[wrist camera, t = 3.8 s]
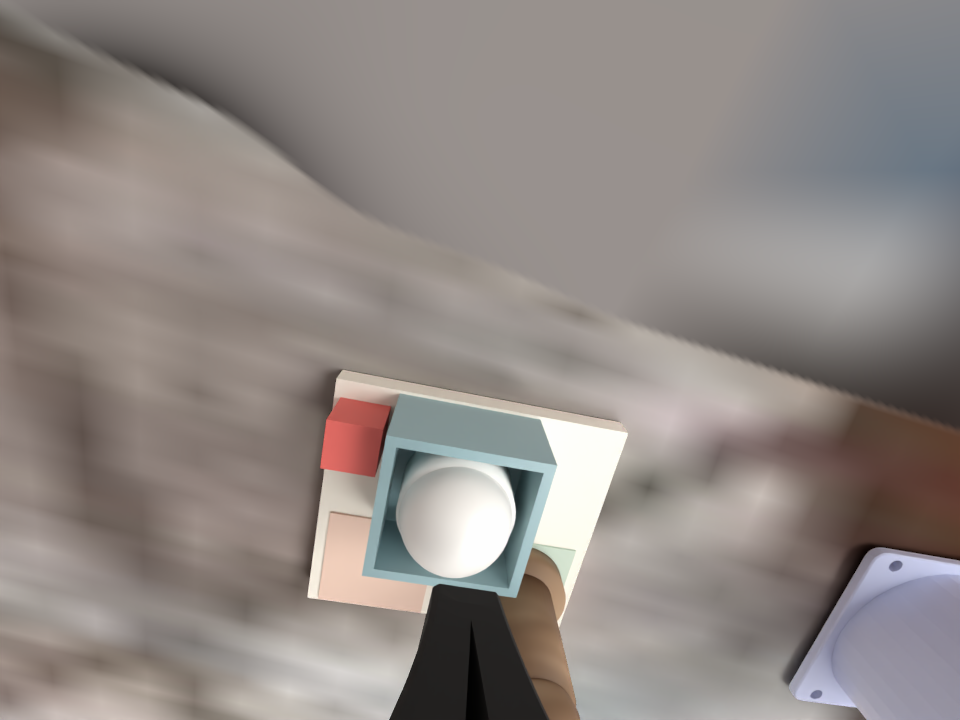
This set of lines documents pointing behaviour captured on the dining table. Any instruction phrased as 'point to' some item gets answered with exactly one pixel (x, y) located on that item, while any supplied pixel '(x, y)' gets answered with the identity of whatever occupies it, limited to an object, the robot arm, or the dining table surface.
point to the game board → (356, 467)
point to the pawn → (542, 634)
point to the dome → (454, 513)
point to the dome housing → (469, 439)
